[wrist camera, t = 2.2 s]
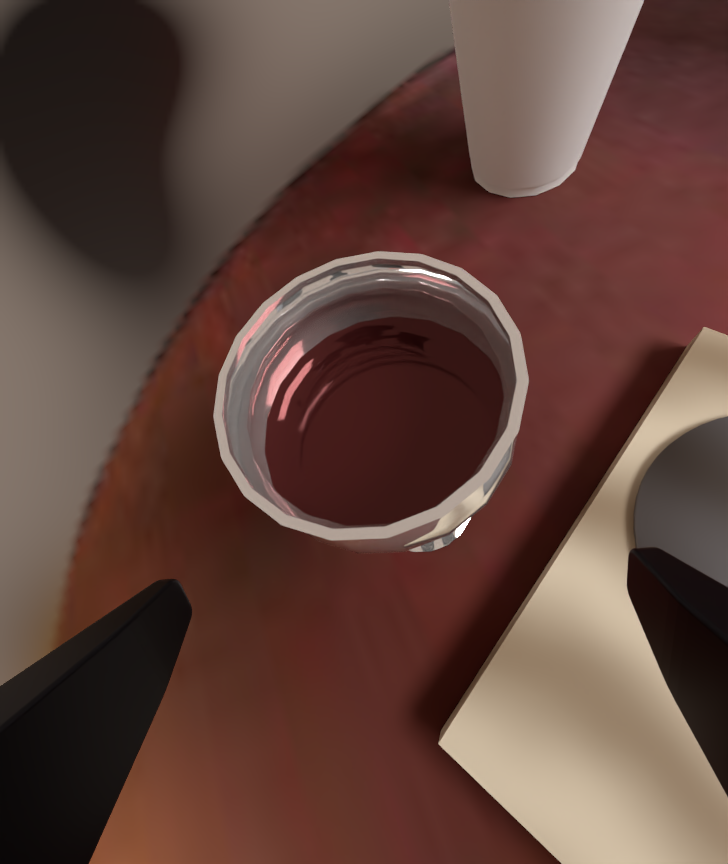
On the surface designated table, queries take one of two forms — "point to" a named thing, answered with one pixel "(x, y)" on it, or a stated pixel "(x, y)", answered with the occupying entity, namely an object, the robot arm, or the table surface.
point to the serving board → (612, 654)
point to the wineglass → (374, 402)
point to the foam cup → (534, 84)
